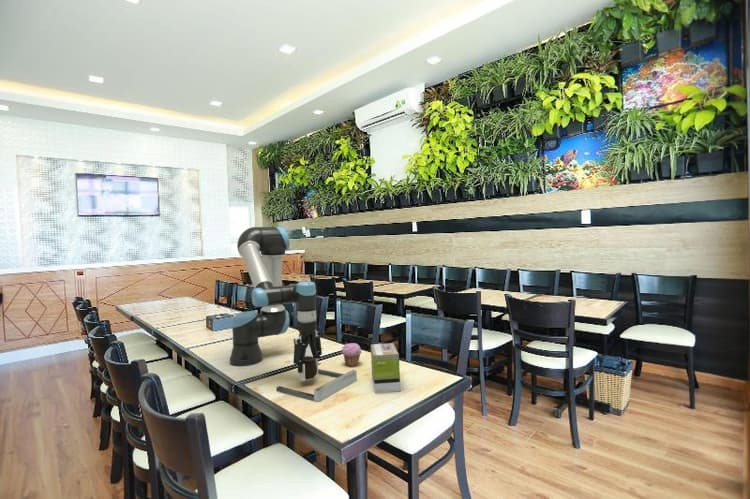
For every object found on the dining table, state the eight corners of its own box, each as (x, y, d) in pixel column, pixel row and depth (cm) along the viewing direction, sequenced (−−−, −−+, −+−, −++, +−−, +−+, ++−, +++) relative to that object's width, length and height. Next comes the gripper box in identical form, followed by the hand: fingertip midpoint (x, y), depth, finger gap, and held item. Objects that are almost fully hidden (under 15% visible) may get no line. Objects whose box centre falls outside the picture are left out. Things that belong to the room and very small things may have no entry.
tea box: (371, 379, 162) (370, 343, 162) (395, 377, 163) (394, 342, 163) (374, 393, 147) (373, 354, 147) (400, 392, 148) (399, 353, 148)
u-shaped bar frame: (276, 391, 152) (276, 380, 152) (317, 372, 172) (316, 363, 172) (318, 402, 141) (318, 391, 141) (356, 380, 161) (356, 370, 161)
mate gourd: (297, 376, 161) (296, 351, 161) (315, 373, 164) (314, 349, 164) (301, 382, 154) (300, 357, 154) (320, 378, 157) (319, 354, 157)
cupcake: (338, 365, 181) (337, 343, 180) (352, 360, 187) (351, 339, 187) (351, 369, 175) (351, 347, 174) (365, 364, 181) (364, 342, 181)
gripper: (296, 326, 148) (298, 387, 149) (330, 316, 165) (331, 370, 166) (282, 324, 152) (284, 383, 153) (316, 315, 169) (317, 367, 170)
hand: (308, 376), depth 159 cm, fingers closed on mate gourd, 7 cm apart
